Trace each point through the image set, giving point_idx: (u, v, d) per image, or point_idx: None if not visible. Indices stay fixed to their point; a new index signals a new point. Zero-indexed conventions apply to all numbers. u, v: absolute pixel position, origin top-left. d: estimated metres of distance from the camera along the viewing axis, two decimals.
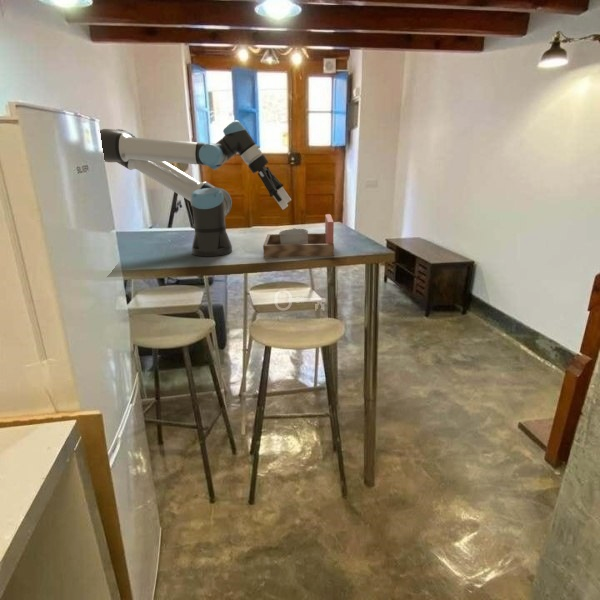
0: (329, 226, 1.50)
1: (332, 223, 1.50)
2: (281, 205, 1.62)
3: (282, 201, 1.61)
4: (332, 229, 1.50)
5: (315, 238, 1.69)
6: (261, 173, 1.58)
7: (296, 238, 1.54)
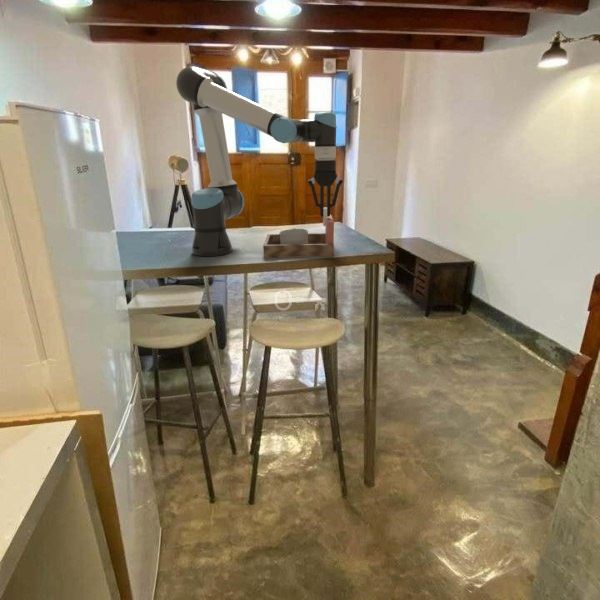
0: (329, 226, 1.50)
1: (332, 223, 1.50)
2: None
3: (323, 218, 1.57)
4: (332, 229, 1.50)
5: (315, 238, 1.69)
6: None
7: (296, 238, 1.54)
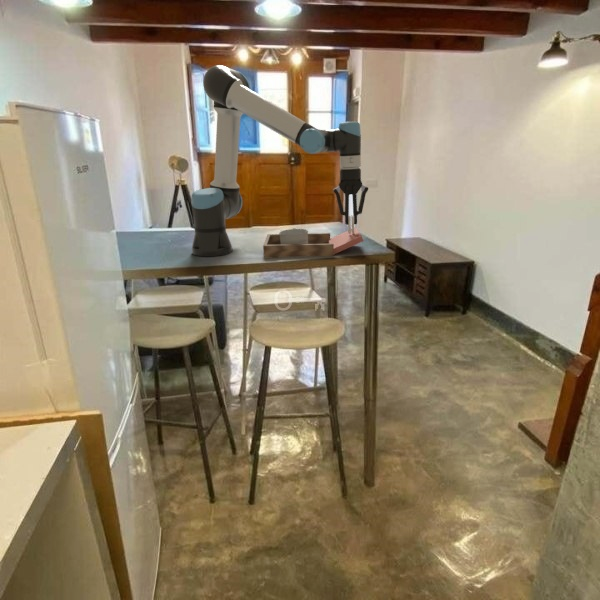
0: (358, 239, 1.52)
1: (361, 240, 1.52)
2: (348, 228, 1.60)
3: (348, 226, 1.58)
4: (356, 243, 1.52)
5: (315, 238, 1.69)
6: (334, 191, 1.54)
7: (296, 238, 1.54)
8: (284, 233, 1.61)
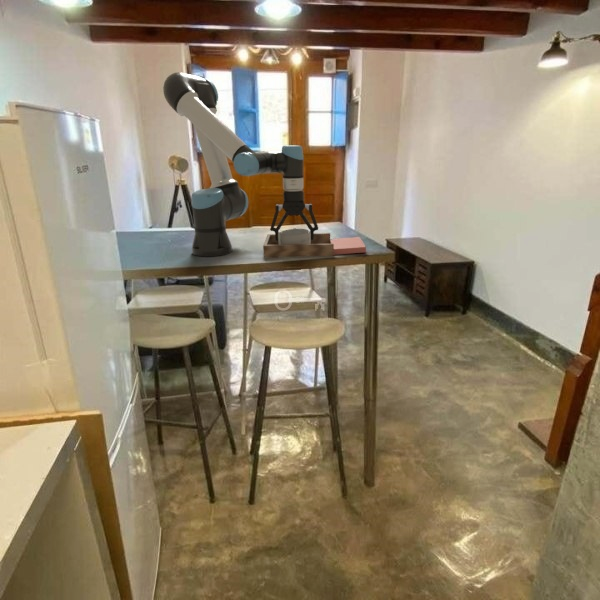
0: (361, 248, 1.53)
1: (364, 251, 1.53)
2: None
3: None
4: (358, 251, 1.53)
5: (315, 238, 1.69)
6: None
7: (297, 238, 1.54)
8: (285, 233, 1.61)
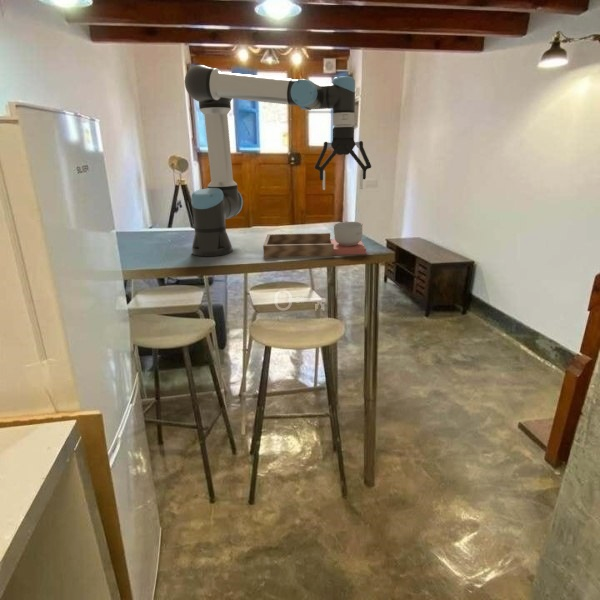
0: (361, 250, 1.53)
1: (364, 253, 1.53)
2: None
3: (323, 182, 1.53)
4: (358, 253, 1.53)
5: (315, 238, 1.69)
6: None
7: (352, 231, 1.53)
8: (337, 226, 1.60)
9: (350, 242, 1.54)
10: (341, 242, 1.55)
